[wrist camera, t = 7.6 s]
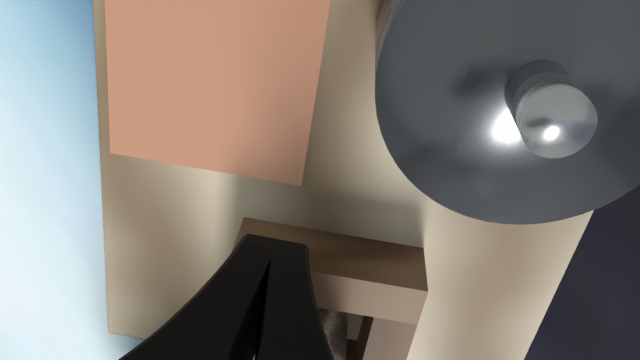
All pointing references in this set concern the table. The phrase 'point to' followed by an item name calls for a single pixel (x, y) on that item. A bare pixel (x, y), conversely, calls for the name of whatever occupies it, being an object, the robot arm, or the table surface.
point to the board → (326, 218)
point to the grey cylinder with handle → (512, 103)
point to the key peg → (335, 331)
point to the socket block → (361, 284)
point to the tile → (215, 82)
